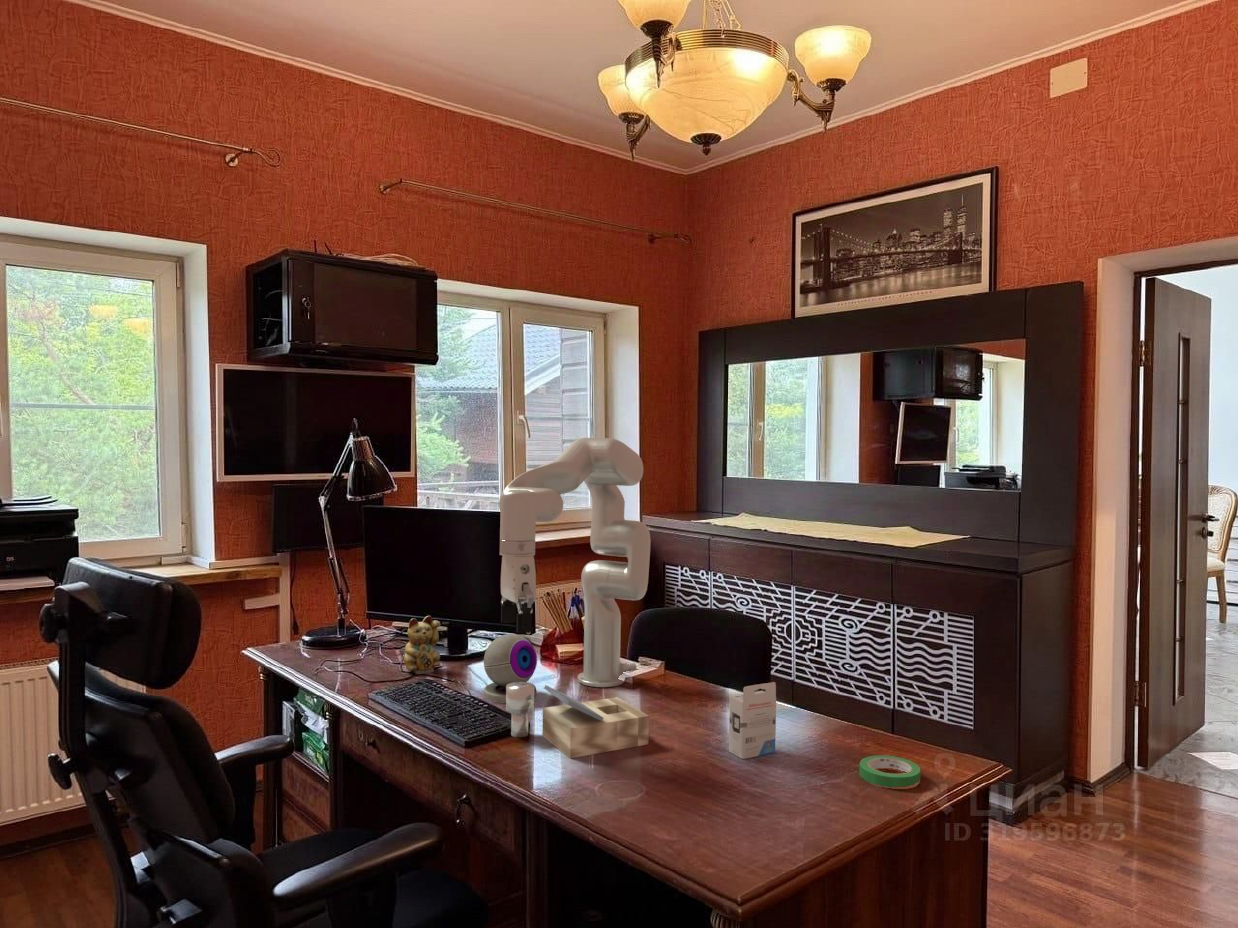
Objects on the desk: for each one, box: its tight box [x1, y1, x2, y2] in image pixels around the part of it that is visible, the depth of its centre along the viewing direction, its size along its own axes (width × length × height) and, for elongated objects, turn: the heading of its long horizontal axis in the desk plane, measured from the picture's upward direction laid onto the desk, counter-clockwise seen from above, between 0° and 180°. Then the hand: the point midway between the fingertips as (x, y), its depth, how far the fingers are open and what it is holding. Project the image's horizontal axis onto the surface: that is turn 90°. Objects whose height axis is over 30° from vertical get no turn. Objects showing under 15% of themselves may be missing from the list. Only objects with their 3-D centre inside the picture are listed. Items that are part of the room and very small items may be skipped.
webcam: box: [482, 633, 538, 704], centre depth 210 cm, size 13×13×15 cm
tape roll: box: [859, 754, 921, 787], centre depth 163 cm, size 11×11×3 cm
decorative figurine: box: [403, 615, 441, 675], centre depth 230 cm, size 10×8×15 cm
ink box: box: [728, 681, 777, 760], centre depth 175 cm, size 9×5×15 cm, turn 117°
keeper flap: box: [543, 684, 603, 721], centre depth 178 cm, size 9×12×1 cm
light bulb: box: [505, 681, 535, 738], centre depth 183 cm, size 6×6×10 cm
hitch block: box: [541, 696, 650, 759], centre depth 180 cm, size 18×14×6 cm
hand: (516, 627), depth 183 cm, fingers open, 9 cm apart
